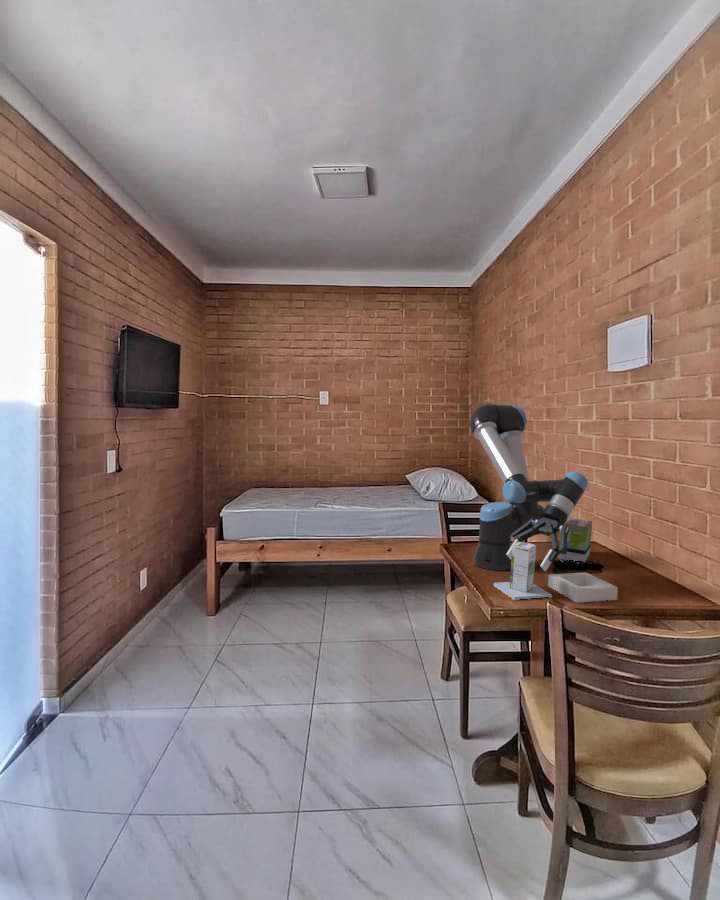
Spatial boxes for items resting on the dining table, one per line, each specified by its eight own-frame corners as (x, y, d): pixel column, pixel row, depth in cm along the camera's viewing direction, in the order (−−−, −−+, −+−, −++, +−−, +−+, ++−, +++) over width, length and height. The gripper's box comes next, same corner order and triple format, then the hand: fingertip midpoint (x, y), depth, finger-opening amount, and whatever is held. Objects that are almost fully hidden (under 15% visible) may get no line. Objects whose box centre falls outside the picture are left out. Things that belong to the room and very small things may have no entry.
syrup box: (516, 584, 161) (518, 541, 160) (534, 588, 157) (536, 544, 156) (509, 588, 156) (511, 544, 155) (527, 593, 152) (529, 547, 151)
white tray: (548, 586, 162) (548, 574, 162) (585, 584, 165) (586, 572, 165) (576, 602, 148) (577, 589, 148) (617, 599, 151) (617, 587, 151)
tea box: (585, 563, 189) (587, 526, 188) (558, 559, 195) (560, 523, 193) (590, 554, 202) (592, 520, 201) (564, 550, 207) (566, 516, 206)
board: (493, 585, 161) (493, 582, 161) (528, 583, 164) (528, 580, 164) (514, 600, 149) (514, 597, 149) (551, 597, 152) (551, 594, 151)
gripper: (596, 526, 153) (564, 580, 147) (532, 511, 174) (501, 558, 168) (586, 511, 150) (553, 566, 143) (522, 498, 171) (490, 546, 165)
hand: (525, 562), depth 156 cm, fingers open, 13 cm apart
